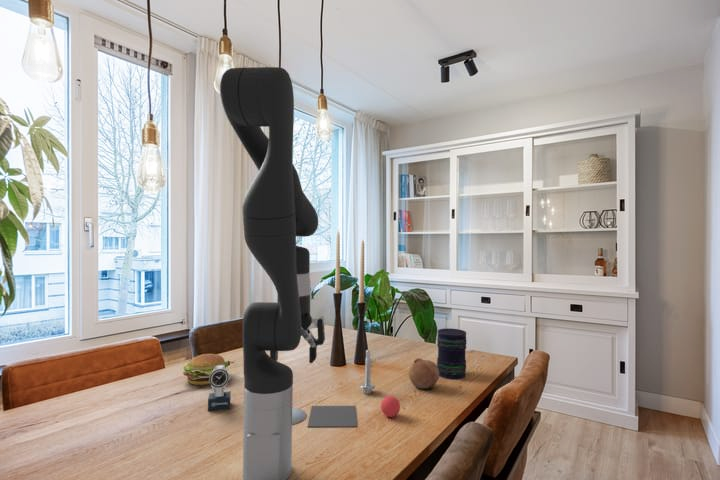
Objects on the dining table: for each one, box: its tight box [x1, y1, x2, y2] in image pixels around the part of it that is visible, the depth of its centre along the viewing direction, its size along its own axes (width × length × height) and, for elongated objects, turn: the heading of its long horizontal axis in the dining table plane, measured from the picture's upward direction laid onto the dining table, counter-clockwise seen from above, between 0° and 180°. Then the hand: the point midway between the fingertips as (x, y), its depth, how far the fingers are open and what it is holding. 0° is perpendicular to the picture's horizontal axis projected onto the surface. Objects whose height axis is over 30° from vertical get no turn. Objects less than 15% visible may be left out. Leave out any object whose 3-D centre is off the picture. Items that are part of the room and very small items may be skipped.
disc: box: [292, 407, 307, 425], centre depth 101 cm, size 10×10×1 cm
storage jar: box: [436, 328, 467, 381], centre depth 135 cm, size 10×10×15 cm
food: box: [183, 353, 231, 386], centre depth 127 cm, size 14×14×8 cm
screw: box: [359, 349, 377, 395], centre depth 118 cm, size 13×5×5 cm
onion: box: [408, 357, 440, 390], centre depth 122 cm, size 10×9×10 cm
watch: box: [207, 365, 232, 412], centre depth 106 cm, size 6×8×11 cm
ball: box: [380, 395, 401, 418], centre depth 102 cm, size 5×5×5 cm
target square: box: [307, 405, 358, 428], centre depth 101 cm, size 12×12×1 cm
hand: (293, 361), depth 91 cm, fingers open, 8 cm apart
